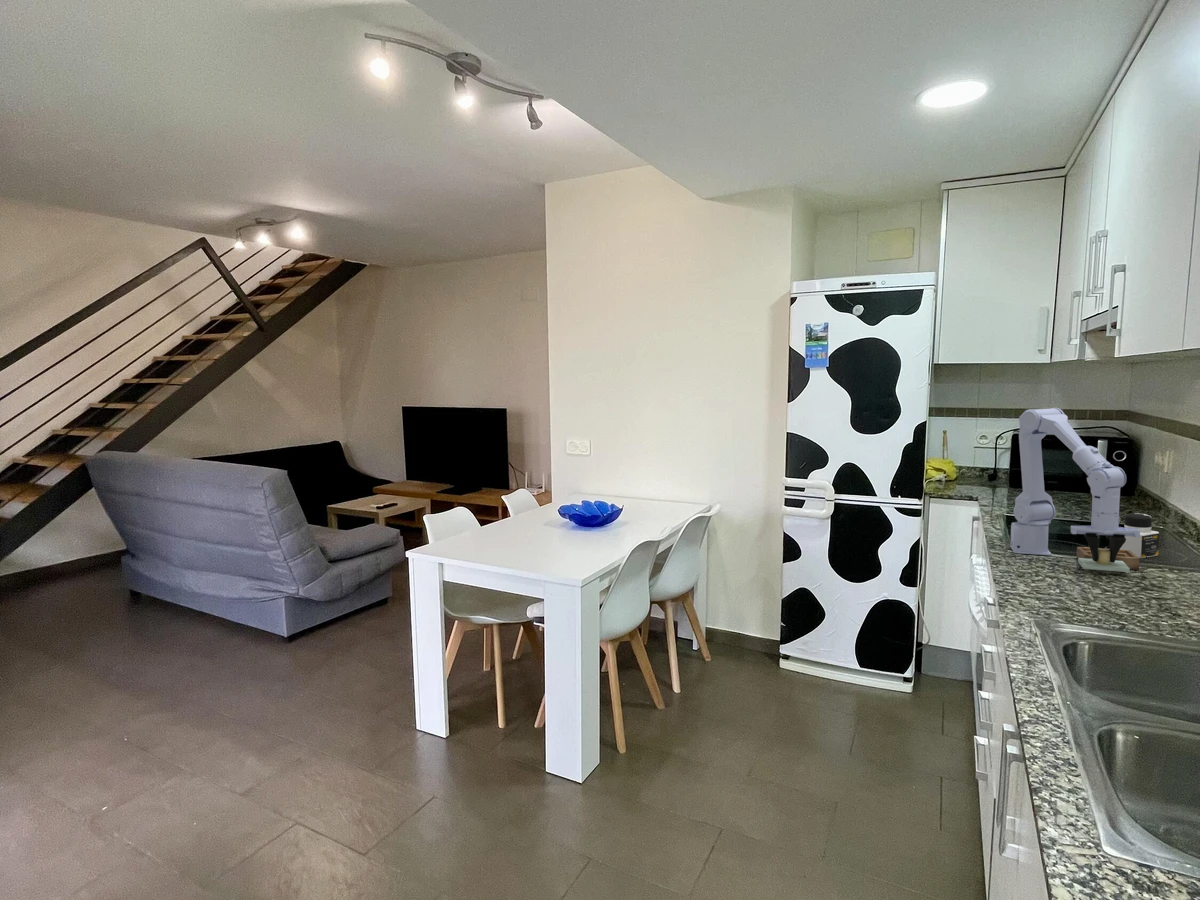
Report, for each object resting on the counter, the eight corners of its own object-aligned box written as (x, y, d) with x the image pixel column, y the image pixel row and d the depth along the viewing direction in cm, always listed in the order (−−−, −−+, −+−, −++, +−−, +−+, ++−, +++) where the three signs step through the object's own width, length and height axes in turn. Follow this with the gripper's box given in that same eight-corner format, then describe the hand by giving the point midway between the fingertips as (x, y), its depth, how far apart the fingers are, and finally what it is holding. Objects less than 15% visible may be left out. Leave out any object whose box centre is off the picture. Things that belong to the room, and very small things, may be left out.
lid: (1083, 568, 168) (1083, 552, 168) (1077, 561, 174) (1078, 545, 174) (1129, 572, 164) (1130, 555, 163) (1122, 564, 170) (1123, 548, 169)
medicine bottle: (1141, 558, 179) (1143, 518, 178) (1114, 552, 186) (1116, 513, 185) (1158, 555, 181) (1160, 515, 180) (1131, 549, 188) (1133, 511, 187)
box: (1084, 566, 175) (1084, 555, 175) (1076, 557, 183) (1077, 546, 183) (1139, 570, 170) (1139, 558, 169) (1128, 561, 178) (1129, 549, 177)
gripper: (1075, 513, 167) (1073, 562, 168) (1144, 516, 161) (1142, 567, 162) (1069, 508, 173) (1067, 555, 175) (1135, 510, 167) (1133, 560, 168)
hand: (1103, 561), depth 169 cm, fingers closed on lid, 3 cm apart
